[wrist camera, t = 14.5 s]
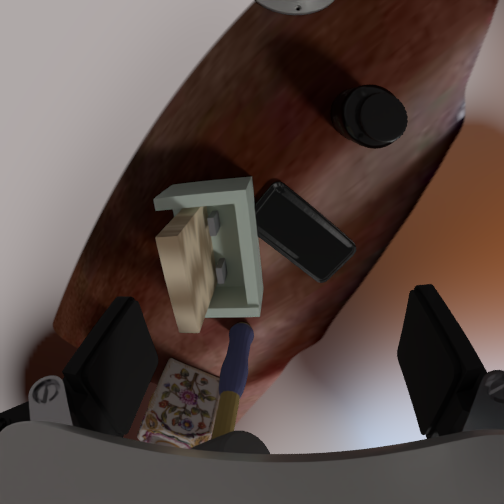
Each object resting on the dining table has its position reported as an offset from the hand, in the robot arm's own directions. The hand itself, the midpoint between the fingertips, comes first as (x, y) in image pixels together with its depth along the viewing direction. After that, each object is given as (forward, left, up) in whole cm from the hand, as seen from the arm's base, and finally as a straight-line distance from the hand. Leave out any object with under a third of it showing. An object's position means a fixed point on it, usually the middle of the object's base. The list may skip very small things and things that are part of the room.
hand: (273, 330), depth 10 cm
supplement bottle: (-6, +10, -32) cm, 35 cm away
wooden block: (+10, -11, -31) cm, 34 cm away
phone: (+10, +2, -33) cm, 34 cm away
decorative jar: (+41, -21, -33) cm, 56 cm away
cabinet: (+10, -9, -32) cm, 35 cm away
